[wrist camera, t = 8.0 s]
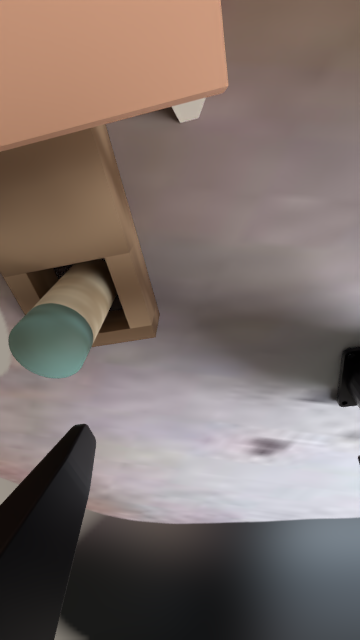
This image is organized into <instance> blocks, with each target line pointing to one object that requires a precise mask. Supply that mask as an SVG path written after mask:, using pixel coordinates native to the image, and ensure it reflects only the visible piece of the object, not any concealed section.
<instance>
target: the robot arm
mask: <svg viewBox="0 0 360 640" xmlns="http://www.w3.org/2000/svg"><path fill="white" fill-rule="evenodd" d="M349 354H351V355H349ZM337 402H338V404H339V406H341V407H347V406H356V405H358V406H359V408H360V347H354V348H348V349H346V350H344V351H343V354H342V361H341V370H340V378H339V386H338V395H337ZM95 449H96V440H95V437H94V435H93V433H92V432H91V430H90V428H89V427H88V425H86V424H79V425H75V426H73V427H72V428H71V429H70V430H69V431H68V432H67V433H66V435H65V436H64V437H63V438H62V439H61V440H60V441H59V442H58V443H57V444H56V445H55V446H54V448H53V449H52V450H51V451H50V452H49V453H48V454H47V455H46V456H45V457H44V458H43V459H42V461H41V462H40V463H39V464H38V465H37V466H36V467H35V468H34V469H33V470H32V471H31V472H30V474H29V475H28V476H27V477H26V478H25V479H24V480H23V481H22V482H21V483H20V484H19V486H18V487H17V488H16V489H15V490H14V491H13V492H12V493H11V494H10V495H9V497H7V499H6V500H5V501H4V502H3V503H2V504H1V505H0V640H54V638H55V634H56V629H57V625H58V621H59V617H60V613H61V608H62V604H63V600H64V596H65V592H66V587H67V583H68V579H69V575H70V571H71V566H72V563H73V558H74V554H75V550H76V546H77V542H78V537H79V533H80V529H81V525H82V520H83V517H84V513H85V508H86V504H87V500H88V495H89V491H90V485H91V478H92V470H93V463H94V456H95ZM358 460H359V463H360V456H358Z"/></svg>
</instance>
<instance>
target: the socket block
mask: <svg viewBox="0 0 360 640" xmlns="http://www.w3.org/2000/svg"><path fill="white" fill-rule="evenodd" d="M100 258H105V260H106V263H107V266H108V269H109V271H110V274H111V277H112V280H113V282H114V285H115V288H116V291H117V294H118V296H119V299H120V302H121V305H122V307H123V309H119V310H113V311H108V314H107V316H106V318H105V320H104V322H103V324H102V326H101V328H100V330H99V332H98V334H97V336H96V338H95V341H94V343H93V345H92V347H95V346H102V345H108V344H115V343H121V342H128V341H134V340H141V339H148V338H154V337H156V332H157V327H158V321H159V315H160V314H159V310H158V307H157V303H156V300H155V296H154V293H153V289H152V286H151V282H150V279H149V275H148V272H147V268H146V265H145V261H144V258H143V254H142V251H141V247H140V244H139V240H138V237H137V233H136V230H135V226H134V223H133V219H132V216H131V212H130V209H129V205H128V202H127V198H126V195H125V191H124V188H123V184H122V181H121V177H120V174H119V170H118V167H117V163H116V160H115V156H114V153H113V149H112V146H111V142H110V139H109V135H108V132H107V128H106V125H105V124H104V125H100V126H96V127H92V128H88V129H85V130H81V131H77V132H73V133H69V134H66V135H62V136H58V137H54V138H51V139H47V140H43V141H39V142H35V143H32V144H28V145H24V146H20V147H16V148H13V149H9V150H5V151H1V152H0V272H1V274H2V276H3V278H4V279H5V281H6V283H7V285H8V286H9V288H10V290H11V291H12V293H13V295H14V297H15V298H16V300H17V302H18V304H19V305H20V307H21V309H22V310H23V312H24V314H25V315H26V314H27V313H28V312H29V311H30V310H31V309H32V308H33V307H34V306H35V305H36V304H37V303H38V302H39V300H40V299H41V298H42V297H43V296H44V295H45V294H46V293H47V292H48V291H49V290H50V289H51V288H52V287H53V286H54V285H55V284H56V283H57V281H58V278H57V276H56V274H55V271H54V269H53V268H55V267H60V266H65V265H70V264H75V263H80V262H85V261H90V260H95V259H100Z"/></svg>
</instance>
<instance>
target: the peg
mask: <svg viewBox="0 0 360 640" xmlns="http://www.w3.org/2000/svg"><path fill="white" fill-rule="evenodd" d="M116 295H117V291H116V288H115V285H114V282H113V280H112V277H111V274H110V271H109V269H108V266H107V263H106V262H104V261H102V260H100V259H95V260H90V261H85V262H80V263H75V264H74V265H73V266H72V267H71V268H70V269H69V270H68V271H67V272H66V273H65V274H64V275H63V276H62V277H61V278H60V279H59V280H58V281H57V283H56V284H55V285H54V286H53V287H52V288H51V289H50V290H49V291H48V292H47V293H46V294H45V295H44V296H43V297H42V298H41V299H40V300H39V302H38V303H37V304H36V305H35V306H34V307H33V308H32V309H31V310H30V311H29V312H28V313H27V314H26V315H25V316H24V317H23V318H22V319H21V320H20V322H19V323H18V324H17V325H16V326H15V327H14V328H13V329H12V331H11V332H10V335H9V347H10V350H11V352H12V354H13V356H14V357H15V359H16V360H17V361H18V362H19V363H20V364H21V365H22V366H23V367H25V368H26V369H28V370H29V371H31V372H33V373H35V374H38V375H40V376H44V377H48V378H65V377H69V376H71V375H73V374H75V373H77V372H78V371H79V370H80V369H81V367H82V365H83V363H84V361H85V359H86V357H87V355H88V353H89V351H90V349H91V347H92V345H93V343H94V341H95V338H96V336H97V334H98V332H99V330H100V328H101V326H102V324H103V322H104V320H105V318H106V316H107V314H108V311H109V309H110V307H111V305H112V303H113V301H114V299H115V297H116Z"/></svg>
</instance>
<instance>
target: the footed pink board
mask: <svg viewBox="0 0 360 640" xmlns="http://www.w3.org/2000/svg"><path fill="white" fill-rule="evenodd" d="M227 87H228V77H227V66H226V55H225V44H224V33H223V22H222V11H221V0H0V152H1V151H5V150H9V149H13V148H16V147H20V146H24V145H28V144H32V143H35V142H39V141H43V140H47V139H51V138H54V137H58V136H62V135H66V134H69V133H73V132H77V131H81V130H85V129H88V128H92V127H96V126H100V125H104V124H107V123H111V122H115V121H119V120H123V119H126V118H130V117H134V116H138V115H141V114H145V113H149V112H153V111H157V110H160V109H164V108H168V107H172V109H173V110H174V112H175V114H176V116H177V118H178V120H179V122H180V123H182V122H186V121H190V120H194V119H198V118H199V116H200V113H201V110H202V107H203V104H204V101H205V99H206V97H210V96H214V95H217V94H221V93H224V91H225V90H226V88H227Z"/></svg>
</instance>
